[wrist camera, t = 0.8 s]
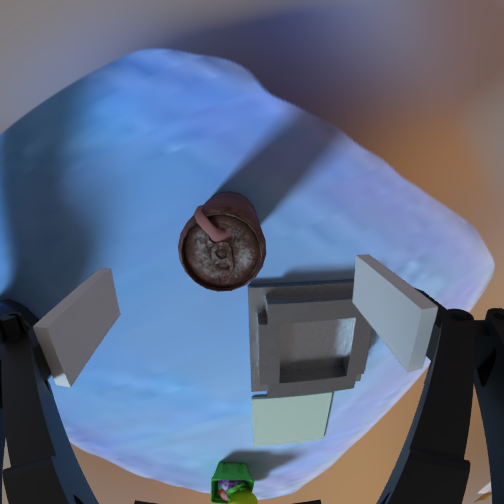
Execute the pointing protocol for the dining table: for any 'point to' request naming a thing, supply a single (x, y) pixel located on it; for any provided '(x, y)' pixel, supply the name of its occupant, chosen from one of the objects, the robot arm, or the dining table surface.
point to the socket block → (306, 337)
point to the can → (223, 243)
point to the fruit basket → (232, 484)
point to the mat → (290, 418)
